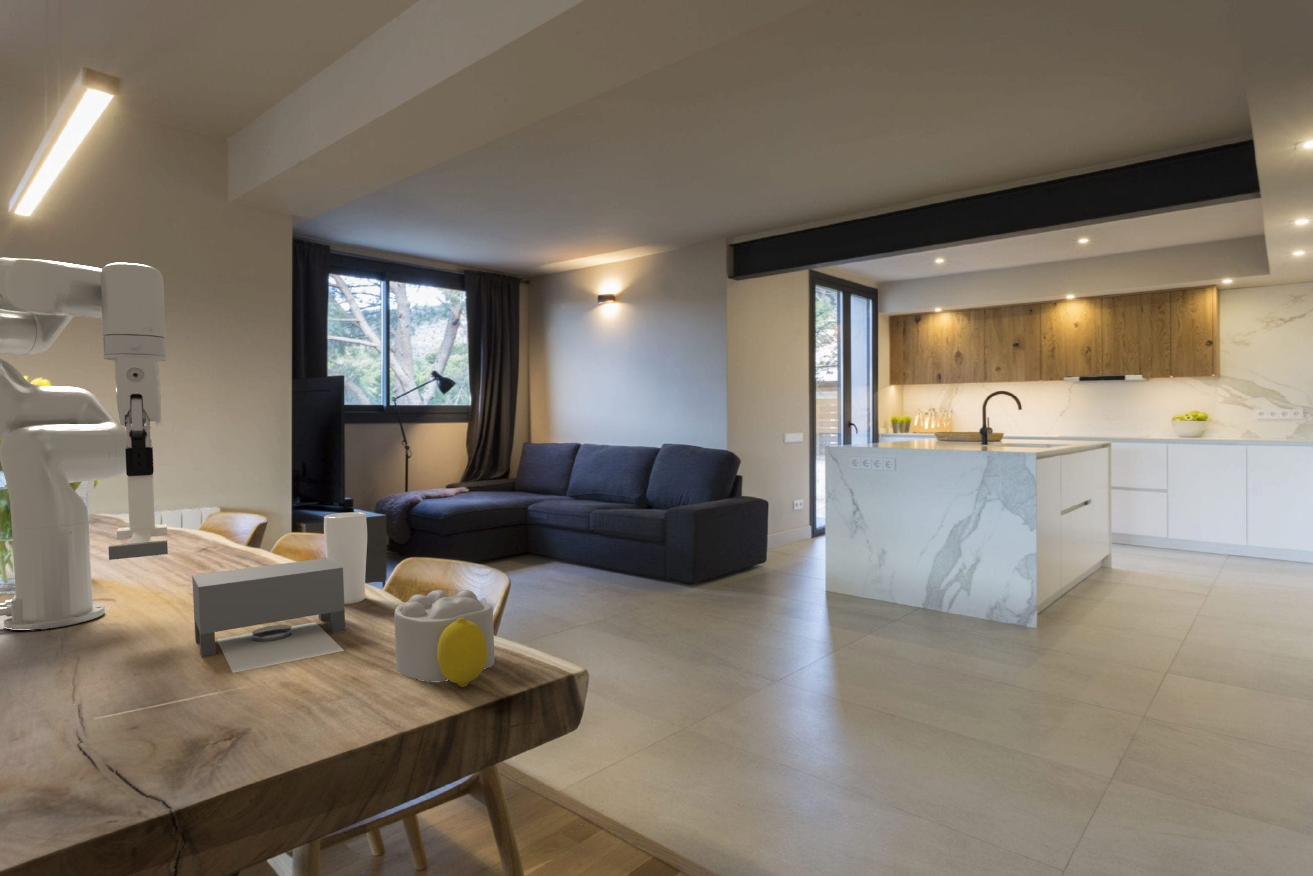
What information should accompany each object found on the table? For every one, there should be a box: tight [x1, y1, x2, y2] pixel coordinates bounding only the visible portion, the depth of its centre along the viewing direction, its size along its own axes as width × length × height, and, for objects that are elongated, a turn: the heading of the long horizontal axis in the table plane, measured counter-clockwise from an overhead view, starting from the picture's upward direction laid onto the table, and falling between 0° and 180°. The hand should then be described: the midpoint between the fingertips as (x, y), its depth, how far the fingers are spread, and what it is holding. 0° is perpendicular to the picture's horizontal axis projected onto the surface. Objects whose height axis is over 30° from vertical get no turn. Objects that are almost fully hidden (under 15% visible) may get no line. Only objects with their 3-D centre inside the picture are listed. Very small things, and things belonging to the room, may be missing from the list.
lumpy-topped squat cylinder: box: [393, 589, 496, 681], centre depth 92 cm, size 10×13×9 cm
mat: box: [216, 622, 345, 674], centre depth 101 cm, size 13×18×1 cm
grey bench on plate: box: [192, 557, 346, 658], centre depth 106 cm, size 18×10×10 cm, turn 126°
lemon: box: [437, 618, 487, 688], centre depth 84 cm, size 6×6×8 cm
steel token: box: [251, 624, 292, 642], centre depth 105 cm, size 5×5×1 cm
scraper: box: [107, 438, 169, 561], centre depth 100 cm, size 6×23×14 cm, turn 34°
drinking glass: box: [323, 511, 368, 605], centre depth 125 cm, size 7×7×15 cm
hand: (140, 473), depth 108 cm, fingers closed on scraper, 3 cm apart
